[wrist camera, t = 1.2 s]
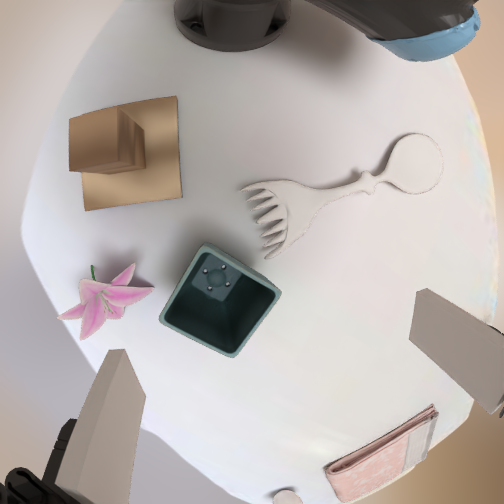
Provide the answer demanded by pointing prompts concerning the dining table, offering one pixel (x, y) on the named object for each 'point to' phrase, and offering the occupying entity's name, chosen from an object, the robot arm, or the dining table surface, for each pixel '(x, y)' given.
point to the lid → (127, 153)
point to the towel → (383, 457)
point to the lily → (104, 301)
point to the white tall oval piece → (287, 498)
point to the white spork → (346, 189)
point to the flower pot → (219, 302)
